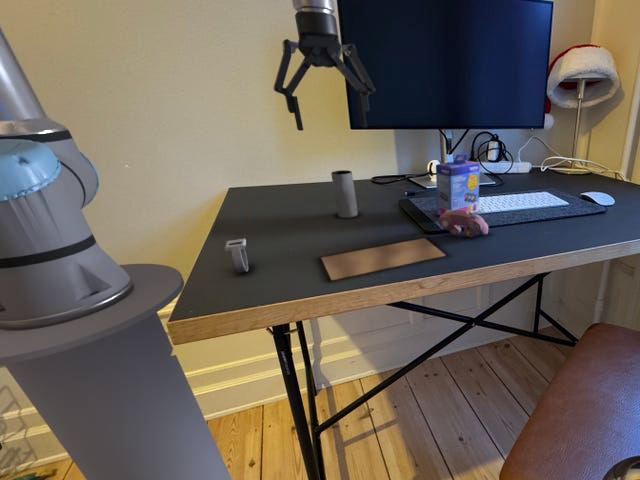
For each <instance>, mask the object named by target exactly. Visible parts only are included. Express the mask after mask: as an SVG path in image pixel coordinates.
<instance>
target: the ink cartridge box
mask: <svg viewBox="0 0 640 480" xmlns="http://www.w3.org/2000/svg"><path fill="white" fill-rule="evenodd" d="M468 156H469V152H466V153H459V154H456V156H455V157H454V160H453V161H446V162H443V163H437V164H435V173H436V174H435V178H436V179H435V181H436V212H437V214H436V215H438V216H439V217H440V216H441V215H442V214H443V213H445V212H446V210H450V211H454V210H466V211H468V212H471V213H478V212H479V198H480V196H479V195H480V170H481V166H480V165H481V164H480V162H476V161H472V160H467V158H468ZM461 157H463V158H461ZM476 208H477V209H476ZM472 209H473V210H472ZM469 210H470V211H469Z"/></svg>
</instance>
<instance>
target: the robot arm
mask: <svg viewBox="0 0 640 480" xmlns="http://www.w3.org/2000/svg"><path fill="white" fill-rule="evenodd" d="M291 2H292V9H293V10H295V15H294V18H295V25H296V30H297V35H298V42H297V41H292V40H290V39H288V38H286V39H284V40H282V56H281V59H280V63H279V67H278V71H277V74H276V77H275V81H274V84H273V91H274V92H276V93H278V94H282V95H283V97H285V102H286V108H287V111H288V112H289V113H290V114H294V120H295V125H296V129H297V130H298V131H299V132H300V131H304V126H303V121H302V114H301V110H300V104H299V99H298V95H293V94H294V92H295V91H296V89H297V88H298V86H299V84H300V83H301V81H302V80H303V78H304V77H305V75H306V73H307V72H308V71H309V69H310V68H311V66H312V67H314V68H321V67H323V68H327V69H332V68H335V69H336V70H337V71H339V73H340V74H341V75H342V76H343V77H344V79H346V80H347V81H348V83H349V84H350V85H351V86H352V87H353V89H354V90H355V91H356V92H357V93H358V94H359V95H356V103H357V111H358V118H359V125H360V128H363V129H366V128H368V121H367V114H366V112H370V103H369V95H370V94H373V93H376V87H375V85H374V84H373V82H372V80H371V78H370V77H369V76H370V75H369V74H368V72H367V71H366V69H365V67H364V65H363V64H362V62H361V59H360V58H359V56H358V52H357V51H358V50H357V47H356V45H355V44H354V43H349V44H343V45H342V44H341V42H340V39H339V31H338V24H337V18H336V17H335V15H334V13H335V10H336V9H335V4H334V0H291ZM296 50H298V51H299V52H300V53H301V54H302V56H303V57H304V58H303V59H302V61H301V63H300V65H299V66H298V68H297V70H296V71H295V73H294V75H293V76H292V77H291V78H290V80H289V83H287V85H286V87H284V84H285V80H286V77H287V73H288V70H289V67H290V63H291V60H292V55H293V54H295V53H296ZM343 53H344V54H345V56H346V57H348V58H349V61H350V63H351V65H352V67H353V68H354V69H355V71H356V73H357V75H358V77H359V79H360V81H361V82H360V81H359V80H358V78H357V77H356V76H355V75H354V74H353V73H352V72H351V70H350V69H349V68H348V67H347V66H346V63H344V62H343V60H342V59H341V55H342V54H343ZM20 62H21V61H20V60H19V58H18V57H17V55H16V53H15V50H14V49H13V47H12V45H11V43H10V41H9V40H8V37H7V35H6V34H5V32H4V30H3V28H2V26H1V25H0V329H3V330H28V329H36V328H42V327H48V326H52V325H57V324H61V323H65V322H69V321H72V320H76V319H79V318H82V317H85V316H88V315H91V314H93V313H96V312H99V311H101V310H103V309H106V308H108V307H110V306H112V305H114V304H116V303H117V302H119V301H121V300H122V299H124V298H125V297H127V296H128V295H129V294H130V293H131V292H132V290H133V289H134V285H133V282H132V280H131V278H130V276H129V275H128V274H127V273H126V272H125V271H124V270H123V269H122V268H121V267H120V266H119V265H120V264H118V263H117V261H115V260H114V259H113V258H112V257H111V256H110V255H109V254H108V253H107V252H106V251H104V249H102V247H100V245H99V244H98V241H97V240H96V238H95V236H94V233H93V232H92V230H91V227H90V225H89V224H88V221H87V219H86V217H85V215H84V212H83V211H82V210H83V209H84V208H85V207H87V206H89V204H91V203H92V202H93V199H94V198H95V197H96V195H97V193H98V190H99V187H100V183H99V182H100V181H99V180H100V178H99V174H98V171H97V168H96V166H95V165H94V163H93V162H92V161H91V160H90V158H88V157H87V156H86V154H84V153H83V152H82V151H81V150H80V149H79V148H78V145H77V143H76V141H75V140H74V138H73V136H72V134H71V132H70V130H69V128H68V127H67V126H66V125H64V124H62V123H60V122H58V121H56V120H54V119H53V118H51V117H50V116H48V114H47V112H46V110H45V108H44V106H43V104H42V102H41V100H40V99H39V96H38V95H37V92H36V91H35V89H34V87H33V85H32V83H31V82H30V79H29V78H28V75H27V73H26V72H25V70H24V67H23V66H22V64H21V63H20Z"/></svg>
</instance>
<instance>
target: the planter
mask: <svg viewBox="0 0 640 480" xmlns="http://www.w3.org/2000/svg"><path fill="white" fill-rule="evenodd" d="M330 176H331V181H332V186H333V193H334V197H335V204H336V205H335V206H336V210H337V216H338V217H339V218H343V219H347V218H348V219H349V218H354V217H357V216H358V215H359V211H358V204H357V198H356V191H355V184H354V177H353V172H352V171H351V170H346V169H343V170H334V171H332V172H331V175H330Z"/></svg>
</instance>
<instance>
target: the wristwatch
mask: <svg viewBox="0 0 640 480" xmlns="http://www.w3.org/2000/svg"><path fill="white" fill-rule="evenodd" d="M246 244H247V239H246V238H238V239H231V240H227V241H226V243H225V246H224V251H225V252H230V255H231V259H232V262H233V266H234V269H235V271H236V272H237V273H238V274H241V273H242V274H243V273H248V271H249V261H248V255H247V252H246V246H247V245H246Z"/></svg>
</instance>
